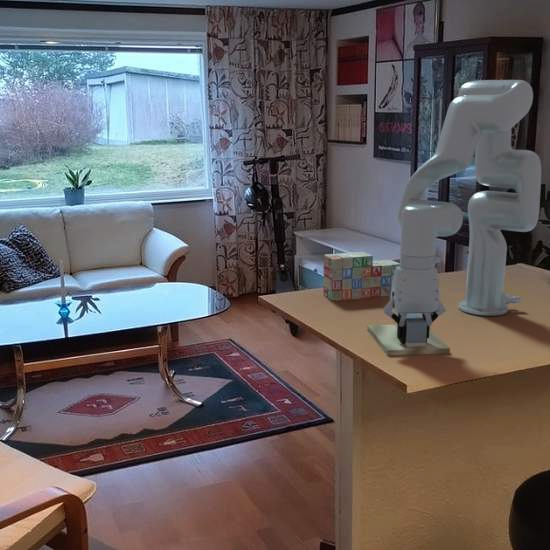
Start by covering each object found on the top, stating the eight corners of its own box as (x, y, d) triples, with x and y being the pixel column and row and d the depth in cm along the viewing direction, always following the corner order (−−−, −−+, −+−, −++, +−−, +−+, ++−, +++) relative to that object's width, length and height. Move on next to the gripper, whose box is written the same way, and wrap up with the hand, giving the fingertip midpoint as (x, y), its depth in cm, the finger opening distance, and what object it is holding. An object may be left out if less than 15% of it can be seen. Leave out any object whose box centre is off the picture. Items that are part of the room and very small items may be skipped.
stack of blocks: (390, 290, 208) (392, 249, 206) (400, 295, 203) (402, 253, 200) (322, 295, 202) (323, 253, 199) (331, 301, 196) (332, 258, 193)
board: (423, 328, 173) (423, 323, 172) (449, 353, 155) (450, 348, 155) (367, 330, 171) (367, 325, 171) (387, 355, 154) (387, 350, 153)
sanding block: (414, 334, 164) (415, 312, 162) (425, 346, 156) (427, 322, 155) (397, 335, 163) (398, 312, 162) (407, 346, 156) (408, 323, 154)
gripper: (447, 257, 159) (442, 335, 163) (375, 259, 157) (371, 337, 161) (460, 265, 152) (454, 345, 156) (384, 266, 150) (380, 348, 154)
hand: (412, 340), depth 158 cm, fingers closed on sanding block, 4 cm apart
